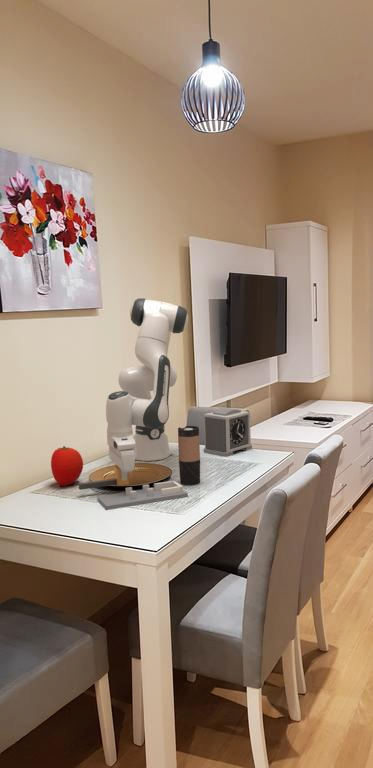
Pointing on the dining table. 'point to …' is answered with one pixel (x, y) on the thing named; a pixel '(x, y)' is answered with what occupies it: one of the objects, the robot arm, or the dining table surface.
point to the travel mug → (189, 455)
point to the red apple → (66, 465)
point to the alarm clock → (227, 431)
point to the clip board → (143, 495)
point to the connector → (106, 481)
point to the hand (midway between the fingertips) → (121, 477)
